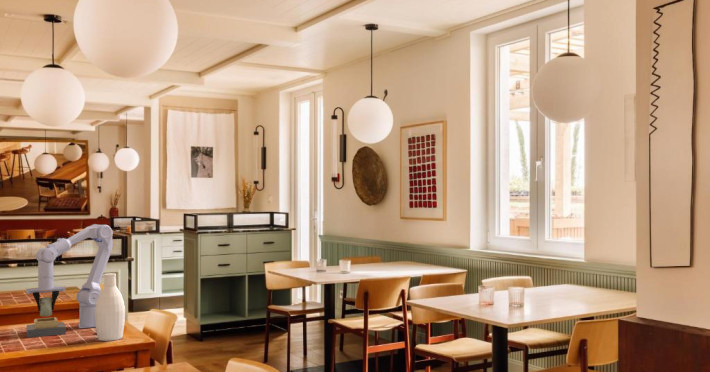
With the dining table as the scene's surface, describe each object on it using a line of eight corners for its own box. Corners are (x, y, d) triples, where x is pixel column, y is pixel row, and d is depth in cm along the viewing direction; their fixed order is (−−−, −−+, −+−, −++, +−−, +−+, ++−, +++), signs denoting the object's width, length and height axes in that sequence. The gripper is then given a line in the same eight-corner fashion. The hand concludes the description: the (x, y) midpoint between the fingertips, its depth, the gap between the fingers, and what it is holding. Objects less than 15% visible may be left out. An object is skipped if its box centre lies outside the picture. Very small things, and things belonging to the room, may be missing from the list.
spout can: (53, 314, 281) (53, 297, 280) (47, 317, 275) (47, 299, 275) (42, 314, 281) (42, 297, 280) (36, 317, 275) (36, 299, 275)
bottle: (107, 342, 259) (107, 276, 260) (89, 339, 265) (88, 274, 266) (131, 337, 269) (131, 273, 269) (113, 334, 275) (112, 271, 275)
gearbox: (63, 329, 287) (63, 315, 287) (65, 334, 276) (65, 320, 276) (26, 332, 281) (26, 318, 281) (27, 337, 270) (27, 323, 270)
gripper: (64, 274, 286) (64, 307, 285) (26, 277, 279) (26, 310, 279) (65, 276, 279) (65, 309, 279) (26, 278, 273) (26, 312, 273)
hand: (45, 310), depth 279 cm, fingers closed on spout can, 4 cm apart
